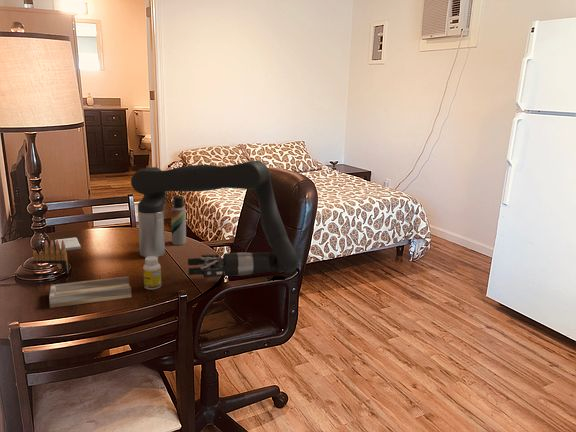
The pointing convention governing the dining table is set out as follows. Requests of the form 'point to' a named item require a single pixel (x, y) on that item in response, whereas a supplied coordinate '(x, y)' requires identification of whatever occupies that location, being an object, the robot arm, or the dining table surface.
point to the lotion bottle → (178, 221)
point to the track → (89, 291)
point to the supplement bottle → (152, 273)
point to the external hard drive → (69, 243)
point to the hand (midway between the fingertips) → (188, 266)
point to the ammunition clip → (53, 255)
